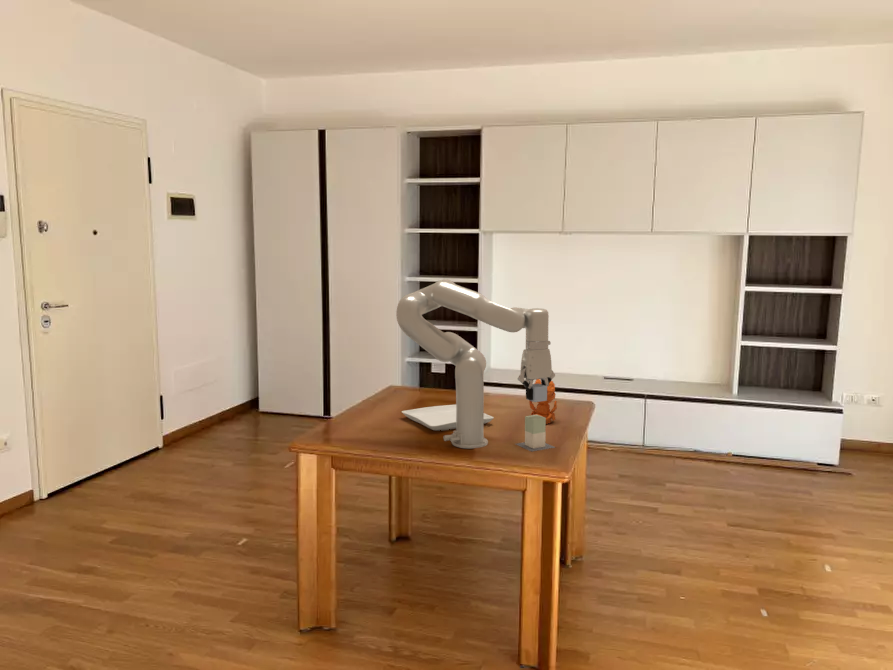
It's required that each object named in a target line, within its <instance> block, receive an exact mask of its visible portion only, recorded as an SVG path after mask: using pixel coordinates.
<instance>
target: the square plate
mask: <svg viewBox="0 0 893 670" xmlns="http://www.w3.org/2000/svg"><path fill="white" fill-rule="evenodd" d="M400 413H402V414H403V415H404V416H405V417H406V418H408V419H409V420H412V421H414V422H416V423H419V424H420V425H423V426H424V427H426V428H428V429H430V430H433V431H440V430H441V431H449V429H450V430H454V429H455V430H456V403H455V404H447V405H446V404H445V405H434V406H427V407H426V406H425V407H420V408H414V409H413V408H412V409H407V410H402V411H401V412H400ZM494 418H495V417H494V416H492V415H489V414H488V413H485V412H484V424H487V423H490V422H491V421H492V420H493V419H494Z"/></svg>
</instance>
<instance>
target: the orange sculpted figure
mask: <svg viewBox="0 0 893 670" xmlns="http://www.w3.org/2000/svg"><path fill="white" fill-rule="evenodd" d="M538 383H539V384H541V380H540V379H535V382H533V384H538ZM555 399H556V384H555V383H554V381H553V380H551V382H550V383H549V386H548V387H547V401H540V402H536V403H537V405H536V406H535V405H534V402H532V401H530V400H528V401H529V402H528V403H529V408H530V409H531V410H532V411H531V413H530V416H531V415H539V416H542V417H545V418H546V425H549V424H550V423H551V422H552V421H555V420H556V413H555V411H556V410H557V407H558V405H557V400H555ZM554 400H555V401H554ZM553 401H554V402H553ZM551 402H553V407H552V409H550V407H551V406H550V404H549V403H551ZM548 423H549V424H548Z"/></svg>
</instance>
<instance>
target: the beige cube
mask: <svg viewBox="0 0 893 670" xmlns="http://www.w3.org/2000/svg"><path fill="white" fill-rule="evenodd" d="M524 442H525V445H527V446H529V447H531V448H539V447H545V443H546V431H545V432H543V433H537V434H532V433H530V432H527V431H525V430H524Z"/></svg>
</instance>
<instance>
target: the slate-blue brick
mask: <svg viewBox="0 0 893 670" xmlns="http://www.w3.org/2000/svg"><path fill="white" fill-rule="evenodd" d="M532 388H533V400H530V401H532V403H537V402H540V401H547V386H545V385H542V384H539V383H538V384H534V383H533V384H532ZM526 400H527V401H529V399H526Z"/></svg>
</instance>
